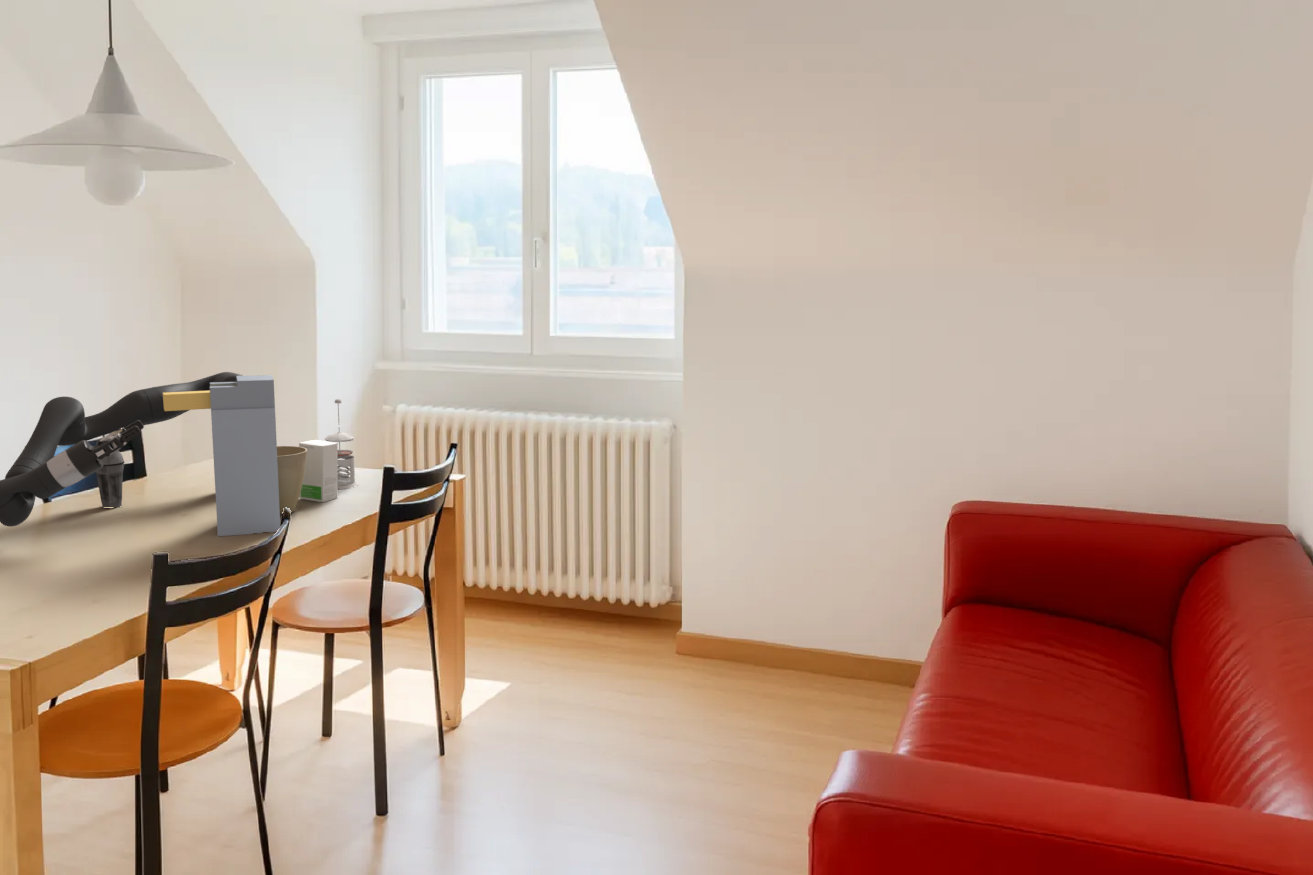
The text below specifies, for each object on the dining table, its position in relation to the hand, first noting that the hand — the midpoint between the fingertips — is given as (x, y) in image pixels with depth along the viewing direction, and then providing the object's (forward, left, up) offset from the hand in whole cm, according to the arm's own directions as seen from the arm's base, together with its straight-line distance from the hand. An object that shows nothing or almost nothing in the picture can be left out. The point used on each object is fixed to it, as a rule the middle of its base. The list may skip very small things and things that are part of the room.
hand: (140, 426), depth 255 cm
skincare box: (+5, +49, -26) cm, 56 cm away
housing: (+14, +17, -26) cm, 34 cm away
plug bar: (+11, +13, +4) cm, 18 cm away
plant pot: (+7, +33, -26) cm, 43 cm away
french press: (-3, +64, -26) cm, 69 cm away
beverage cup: (-33, +14, -26) cm, 44 cm away
